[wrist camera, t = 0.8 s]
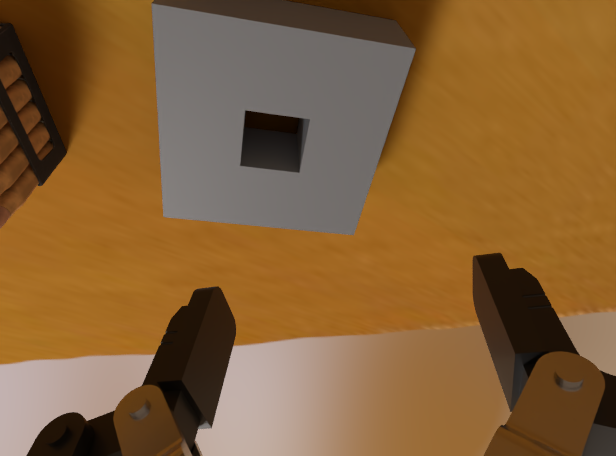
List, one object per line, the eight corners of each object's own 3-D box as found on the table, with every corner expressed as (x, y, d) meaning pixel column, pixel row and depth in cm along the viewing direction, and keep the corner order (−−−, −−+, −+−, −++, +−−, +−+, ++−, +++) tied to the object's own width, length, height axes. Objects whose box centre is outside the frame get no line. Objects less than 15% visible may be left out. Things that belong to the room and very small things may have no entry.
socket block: (176, 175, 39) (163, 216, 35) (170, -21, 29) (151, 3, 24) (345, 193, 42) (353, 235, 37) (395, 20, 31) (416, 48, 27)
